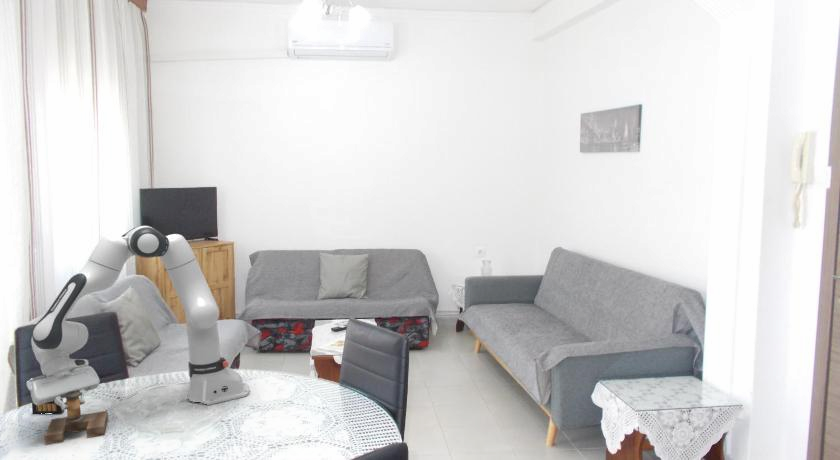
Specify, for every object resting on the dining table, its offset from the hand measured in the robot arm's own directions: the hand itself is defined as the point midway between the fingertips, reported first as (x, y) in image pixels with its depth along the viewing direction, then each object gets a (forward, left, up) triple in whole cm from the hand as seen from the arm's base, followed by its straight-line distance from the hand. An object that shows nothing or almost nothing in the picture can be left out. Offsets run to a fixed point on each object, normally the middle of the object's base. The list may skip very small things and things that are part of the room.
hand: (74, 406), depth 205 cm
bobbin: (0, -1, -5) cm, 5 cm away
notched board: (0, -4, -10) cm, 11 cm away
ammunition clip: (+12, -26, -11) cm, 31 cm away
